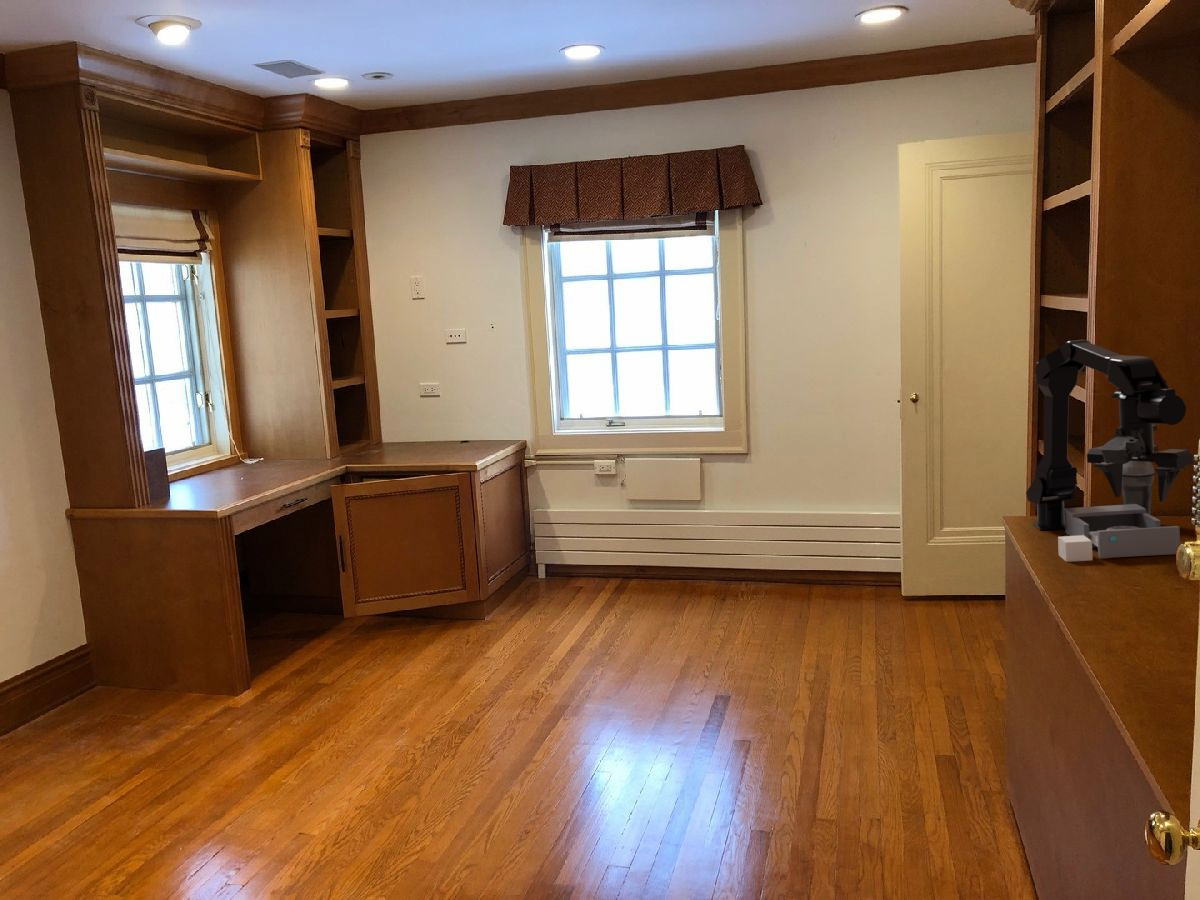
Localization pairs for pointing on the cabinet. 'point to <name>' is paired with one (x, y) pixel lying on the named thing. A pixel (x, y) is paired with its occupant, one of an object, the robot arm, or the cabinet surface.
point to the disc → (1122, 527)
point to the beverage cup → (1138, 483)
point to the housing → (1106, 518)
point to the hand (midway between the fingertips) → (1139, 499)
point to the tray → (1136, 541)
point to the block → (1075, 548)
